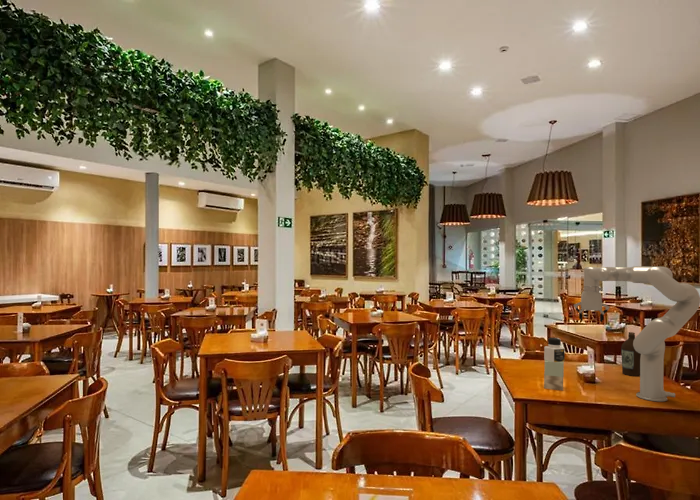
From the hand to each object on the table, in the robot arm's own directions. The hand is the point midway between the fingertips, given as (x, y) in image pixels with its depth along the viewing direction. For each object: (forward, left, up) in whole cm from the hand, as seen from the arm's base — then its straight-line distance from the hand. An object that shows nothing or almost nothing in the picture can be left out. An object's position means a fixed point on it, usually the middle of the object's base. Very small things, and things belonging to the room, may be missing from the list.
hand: (591, 321), depth 246 cm
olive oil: (-25, -36, -34) cm, 56 cm away
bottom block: (+19, +16, -34) cm, 42 cm away
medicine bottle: (+19, +16, -21) cm, 32 cm away
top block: (+19, +16, -27) cm, 37 cm away
